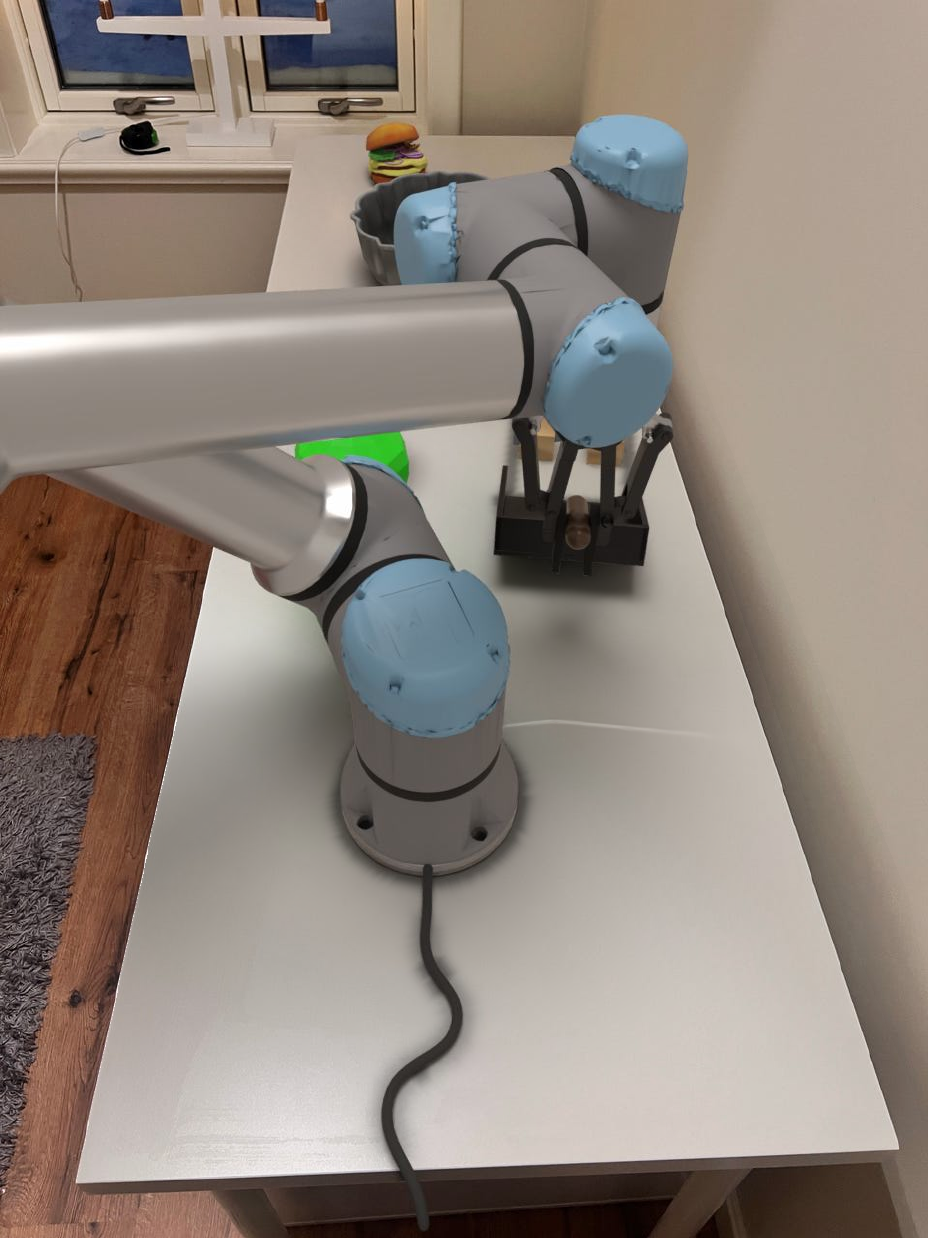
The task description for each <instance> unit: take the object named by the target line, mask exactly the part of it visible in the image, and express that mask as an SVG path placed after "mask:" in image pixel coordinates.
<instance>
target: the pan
mask: <svg viewBox="0 0 928 1238" xmlns="http://www.w3.org/2000/svg"><path fill="white" fill-rule="evenodd" d="M508 472H509V465H504V464H503V465H502V469H501V477H500V484H499V491H498V499H497V505H496V515H495V526H494V541H493V542H494V543H493V556H498V557H499V556H501V557H512V558H513V557H514V558H525V559H539V560H540V559H541V560H552V550H553V542H547V541H544V540H543V523H544V514H543V513H542V512H540V511H536V512H529V511H528V510H527V509H526V507H525V496H514V495H507V486H508ZM563 501H564V502H567V515H566V528H565V535H564V542H563V550H562V557H561V561H565V562H566V561H567V562H581V563H583V552H584V548H585V547H586V546H587V545H588V544H589V542H590V539H591V533H590V523H589V514H590V508H591V504H600V501H599V502H597V501H587V499H586V498H584V497H583V496H581V495H578V494H574V495H572V496H570V497H568V498H567V499H563ZM649 525H650V524H649V520H648V516H647V512H646V507H645V504H644V498H643V497H642V499H641V502H640V504H639V507H638V510H637V512H636V515H635V516H634V517H633V518H632V519H625V518H623V517H618V518H616V519H614V526H613V527H612V528H611V532H610V538H609V542H608V544H607V545H606V546H602V545H596V549H595V554H594V560H593V564H607V565H620V566H633V567H635V566H636V567H644V566H645V560H646V554H647V553H646V552H647V546H648V540H649V533H650V526H649Z"/></svg>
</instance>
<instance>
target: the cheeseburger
mask: <svg viewBox="0 0 928 1238" xmlns="http://www.w3.org/2000/svg"><path fill="white" fill-rule="evenodd" d="M419 139H420V134H419V132H418V131H417V129H416V127H415V126H414V125H412V124H409V123H405V122H400V121H394V122H388V123H385V124H381V125H379V126H377V127H376V128H375V129H373V130H372V131H371V132H370V133H369V134H368V135H367V137H366V142H365V150H366V152H367V151H368V156H367V157H368V159H369V160H368V165H367V167H368V168H367V171H368V173H369V174H370V175H371V177H372V180H373V181H374V182H375V183H376V184H378V183H385V182H390V181H391V180H393V179H395V178H397V177H399V176H403V175H407V174H416V173H424V174H426V169H427V168H428V165H429V160H428V159H427V158H426V156H425V154H424V152H423V151H422V150H421V149H419V148H420V146H421V143H420V142H419V143H414V142H416V141H418V140H419ZM413 143H414V144H413Z"/></svg>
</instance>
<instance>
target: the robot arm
mask: <svg viewBox="0 0 928 1238" xmlns="http://www.w3.org/2000/svg"><path fill="white" fill-rule="evenodd" d="M569 155H570V157H569V161H570V163H568V164H567V165H566V164H565V165H560V166H556V167H552V168H550V169H547V170H544V171H542V170H541V171H535V172H529V173H528V172H527V173H522V174H516V175H509V176H501V177H496V178H495V177H494V178H490V179H488V180H481V181H474V182H467V183H461V184H456V182H453V183H450V184H449V185H448V186H446V187H441V188H437V189H433V190H429V191H425V192H421V193H416V194H412V195H410V196H408V197H407V198H406V199H404V200H403V202H402V203H401V205H400V206H399V208H398V210H397V214H396V217H395V223H394V249H395V257H396V263H397V268H398V273H399V277H400V280H401V283H402V285H395V286H385V285H380V286H361V287H360V286H359V287H340V288H322V289H321V288H320V289H302V290H301V289H300V290H286V291H285V290H283V291H268V292H267V291H264V292H262V291H261V292H245V293H242V292H241V293H226V294H224V293H223V294H207V295H187V296H186V295H185V296H171V297H151V298H150V297H149V298H147V297H146V298H131V299H129V298H128V299H110V300H91V301H78V302H77V301H76V302H75V301H74V302H73V301H71V302H54V303H53V302H52V303H34V304H33V303H31V304H19V303H17V302H16V301H13V300H12V299H10V298H8V297H7V296H5V295H4V294H3V292H2V291H1V290H0V496H1V495H2V494H3V492H5V490H6V489H7V488H8V486H10V484H11V483H12V482H13V481H15V480H18V479H19V478H22V477H30V476H38V475H39V476H40V475H45V476H48V477H49V478H52V479H55V480H57V481H58V482H62V483H63V484H66V485H69V486H70V487H73V488H75V489H78V490H80V491H82V492H85V493H87V494H88V495H92V496H94V497H96V498H98V499H101V500H103V501H106V502H107V503H110V504H113V505H115V506H117V507H119V508H122V509H124V510H126V511H128V512H131V513H134V514H135V515H138V516H140V517H143V518H146V519H148V520H150V521H152V522H155V523H157V524H159V525H161V526H164V527H166V528H169V529H171V530H173V531H176V532H178V533H180V534H182V535H184V536H187V537H189V538H192V539H194V540H196V541H198V542H201V543H203V544H205V545H208V546H210V547H213V548H215V549H217V550H219V551H222V552H223V553H226V554H229V555H231V556H233V557H236V558H237V559H240V560H243V561H245V562H248V563H249V564H250V569H251V572H252V575H253V577H254V579H255V581H256V583H257V584H258V585H259V587H261V588H262V589H263V590H265V591H266V592H268V593H270V594H272V595H275V596H277V597H279V598H281V599H284V600H286V601H289V602H290V603H291V602H292V603H294V604H296V605H299V606H301V607H304V608H305V609H308V610H309V611H310V612H311V613H312V614H313V615H314V616H315V617H316V619H317V622H318V625H319V627H320V629H321V632H322V634H323V637H324V640H325V642H326V645H327V647H328V649H329V652H330V655H331V657H332V659H333V662H334V664H335V667H336V669H337V671H338V674H339V677H340V678H341V681H342V683H343V687H344V689H345V692H346V694H347V698H348V702H349V705H350V710H351V718H352V725H353V732H354V733H353V734H354V740H355V741H354V743H353V744H352V747H351V750H350V751H349V754H348V755H347V757H346V760H345V763H344V766H343V768H342V771H341V775H340V782H339V799H340V806H341V812H342V816H343V820H344V823H345V826H346V828H347V830H348V832H349V834H350V836H351V837H352V839H353V840H354V842H355V843H356V845H358V847H359V848H360V849H361V851H363V852H364V853H365V854H366V855H368V856H369V857H370V858H372V859H373V860H375V861H376V862H377V863H378V864H380V865H382V866H384V867H386V868H389V869H391V870H394V871H397V872H400V873H403V874H407V875H414V876H422V895H421V898H422V901H421V916H420V917H421V918H420V927H419V946H420V953H421V957H422V960H423V963H424V965H425V967H426V969H427V970H428V973H429V974H430V976H431V978H432V979H433V980H434V981H435V983H436V984H437V986H438V987H439V988H440V990H441V991H442V992H443V994H444V995H445V997H446V999H447V1000H448V1002H449V1006H450V1009H451V1022H450V1025H449V1029H448V1031H447V1032H446V1034H445V1035H444V1036H443V1038H442V1039H440V1041H439V1042H437V1043H436V1044H435V1045H434V1046H432V1047H430V1049H428V1050H426V1051H425V1052H423V1053H422V1054H420V1055H418V1056H417V1057H415V1058H414V1059H412V1060H410V1061H409V1062H408V1063H406V1064H405V1065H404V1066H403V1067H401V1068H400V1069H399V1070H398V1072H396V1073H395V1075H394V1076H393V1077H392V1078H391V1080H390V1081H389V1082H388V1085H387V1087H386V1088H385V1092H384V1094H383V1098H382V1103H381V1117H380V1118H381V1127H382V1132H383V1135H384V1139H385V1142H386V1145H387V1147H388V1150H389V1151H390V1153H391V1154H390V1155H391V1156H392V1159H393V1161H394V1163H395V1165H397V1168H398V1170H399V1172H400V1174H401V1176H402V1178H403V1180H404V1181H405V1184H406V1185H407V1186H406V1187H407V1189H408V1191H409V1193H410V1196H411V1199H412V1202H413V1206H414V1210H415V1215H416V1221H417V1226H418V1228H419V1230H420V1231H421V1232H426V1231H428V1230H429V1228H430V1215H429V1210H428V1205H427V1200H426V1197H425V1193H424V1190H423V1188H422V1185H421V1183H420V1181H419V1179H418V1176H417V1174H416V1172H415V1170H414V1168H413V1166H412V1164H411V1162H410V1160H409V1159H408V1156H407V1155H406V1153H405V1151H404V1149H403V1147H402V1145H401V1143H400V1140H399V1138H398V1135H397V1132H396V1128H395V1123H394V1104H395V1100H396V1096H397V1094H398V1091H399V1089H400V1087H401V1085H402V1084H403V1083H405V1082H406V1080H408V1078H409V1077H411V1076H412V1075H413V1074H415V1073H417V1072H418V1071H419V1070H421V1069H422V1068H424V1067H426V1066H427V1065H428V1064H430V1063H432V1062H433V1061H435V1060H436V1059H438V1058H439V1057H440V1056H442V1055H443V1054H444V1053H445V1052H446V1051H448V1050H449V1049H450V1048H451V1046H452V1045H453V1044H454V1043H455V1041H456V1040H457V1038H458V1036H459V1034H460V1032H461V1028H462V1024H463V1016H464V1012H463V1005H462V1003H461V1000H460V997H459V995H458V993H457V991H456V990H455V988H454V987H453V985H452V984H451V983H450V981H449V980H448V978H447V977H446V976H445V974H444V973H443V972H442V970H441V969H440V967H439V965H438V964H437V962H436V960H435V957H434V954H433V951H432V945H431V926H432V916H433V881H434V879H433V876H434V877H435V876H442V875H443V876H444V875H448V874H449V875H450V874H453V873H457V872H460V871H463V870H466V869H468V868H470V867H472V866H474V865H476V864H478V863H480V862H481V861H483V860H484V859H485V858H487V857H488V856H490V855H491V854H492V853H493V852H494V851H496V849H497V848H498V847H500V845H501V844H502V843H503V841H504V840H505V839H506V837H507V835H508V834H509V832H510V830H511V828H512V826H513V823H514V821H515V818H516V813H517V811H518V810H517V809H518V801H519V794H520V793H519V788H520V786H519V785H520V783H519V776H518V772H517V771H518V770H517V768H516V765H515V762H514V760H513V758H512V755H511V753H510V751H509V750H508V747H507V746H506V744H505V741H504V740H503V738H502V736H503V735H502V734H503V725H504V714H505V701H506V691H507V683H508V681H509V677H510V676H509V675H510V666H511V659H510V658H511V645H510V644H509V633H508V626H507V620H506V617H505V614H504V611H503V609H502V607H501V605H500V603H499V601H498V599H497V598H496V596H495V594H494V593H493V592H492V590H491V589H490V588H489V587H488V586H487V585H486V584H485V583H484V582H483V581H482V580H480V579H479V578H478V577H477V576H476V575H475V574H474V573H472V572H470V571H468V570H466V569H462V570H460V571H458V570H457V569H456V567H455V565H454V563H453V562H452V561H451V559H450V557H449V555H448V554H447V552H446V551H445V549H444V546H443V545H442V543H441V541H440V540H439V537H438V536H437V534H436V532H435V531H434V529H433V527H432V526H431V524H430V521H429V520H428V518H427V515H426V512H425V510H424V507H423V506H422V503H421V502H420V500H419V497H418V496H416V494H415V492H414V490H412V488H411V487H410V486H409V485H408V483H407V484H406V483H405V482H404V481H403V480H402V479H401V477H400V476H399V475H398V474H397V473H395V472H394V471H393V470H392V469H391V468H389V467H388V466H386V465H384V464H383V463H381V462H379V461H376V460H374V459H371V458H367V457H363V456H357V455H346V457H345V458H344V459H340V460H339V459H337V458H335V457H333V456H330V455H326V454H316V455H311V456H308V457H306V458H304V459H302V460H299V459H297V458H295V456H293V455H292V454H290V453H288V452H286V451H285V450H283V449H281V448H280V447H283V446H291V445H296V444H301V443H309V442H318V441H326V440H334V439H343V438H351V437H360V436H368V435H377V434H385V433H393V432H400V433H402V432H410V431H419V430H426V429H435V428H444V427H452V426H460V425H468V424H476V423H485V422H494V421H502V420H503V421H504V420H511V428H512V429H511V430H513V432H514V433H515V434H516V436H517V438H518V440H519V442H520V444H521V456H522V459H521V467H522V479H523V493H524V497H525V507H526V509H527V510H528V511H529V512H536V511H540V512H542V513H543V514H544V523H543V540H544V541H547V542H553V550H552V559H551V567H550V568H551V569H550V573H551V574H558V575H559V574H560V572H561V564H562V560H561V557H562V550H563V542H564V535H565V528H566V515H567V502H564V501H563V500H565V499H564V498H565V495H566V491H567V488H568V484H569V481H570V478H571V474H572V470H573V467H574V463H575V462H576V459H577V456H578V452H579V450H580V451H581V450H587V448H590V449H594V450H597V451H601V465H600V469H599V471H600V475H599V476H600V477H599V503H600V504H591V508H590V514H589V523H590V533H591V539H590V542H589V544H588V545H587V546H586V547H585V548H584V552H583V562H582V576H585V577H591V576H592V572H593V566H594V563H593V560H594V554H595V549H596V545H602V546H606V545H607V544H608V542H609V538H610V532H611V528H612V527H613V526H614V519H616V518H618V517H623V518H625V519H632V518H633V517H634V516H635V515H636V512H637V510H638V507H639V504H640V502H641V499H642V498H643V497H644V494H645V491H646V489H647V486H648V483H649V481H650V479H651V475H652V473H653V471H654V468H655V465H656V463H657V460H658V458H659V455H660V453H661V452H663V450H664V449H665V448H666V447H667V446H668V445H669V444H670V443H671V441H672V440H673V439H674V429H673V427H674V426H673V418H672V415H671V414H670V413H669V412H661V413H659V414H657V412H658V411H659V409H661V407H662V405H663V403H664V402H665V399H666V398H667V397H666V396H667V394H668V391H669V389H670V387H671V382H672V379H673V374H674V359H673V357H674V356H673V354H672V350H671V347H670V345H669V343H668V341H667V339H666V338H665V336H664V335H663V334H662V333H661V332H660V331H659V324H660V319H661V313H662V307H663V302H664V297H665V290H666V285H667V281H668V277H669V276H668V275H669V271H670V266H671V262H672V258H673V253H674V247H675V243H676V238H677V234H678V229H679V225H680V224H679V223H680V219H681V214H682V212H683V211H684V209H685V203H684V197H685V190H686V184H687V177H688V165H689V148H688V144H687V142H686V140H685V137H683V135H682V134H681V133H680V132H679V131H677V130H676V129H675V128H673V127H672V125H671V126H670V125H669V124H668V123H666V122H663V121H662V120H658V119H655V118H651V117H647V116H644V115H643V116H642V115H636V114H610V115H604V116H599V117H597V118H596V119H594V120H593V122H587V123H585V124H584V125H583V126H581V127H580V128H579V130H578V131H577V133H576V135H575V139H574V143H573V147H572V151H571V152H570V154H569ZM544 418H545V419H546V420H547V422H548V424H549V425H550V426H551V427H552V428H553V430H554V431H555V433H556V434H557V435H558V437H559V438H560V439H561V441H560V442H559V446H558V450H557V454H556V457H555V461H554V464H553V468H552V472H551V475H550V480H549V484H548V487H547V489H546V491H545V490H543V489H541V480H540V479H541V478H540V463H539V462H540V461H539V459H538V443H537V432H538V431H540V429H541V421H542V419H544ZM640 430H641V438H640V442H639V444H638V448H637V450H636V453H635V456H634V459H633V462H632V464H631V467H630V471H629V472H628V474H627V478H626V481H625V484H624V486H623V489H622V492H621V495H617V496H616V493H615V492H616V446H618V445H619V444H620V443H621V442H622V441H624V440H625V441H626V439H628V438H630V437H632V436H633V435H635V434H636V433H637V432H638V431H640ZM514 433H513V434H514Z"/></svg>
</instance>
